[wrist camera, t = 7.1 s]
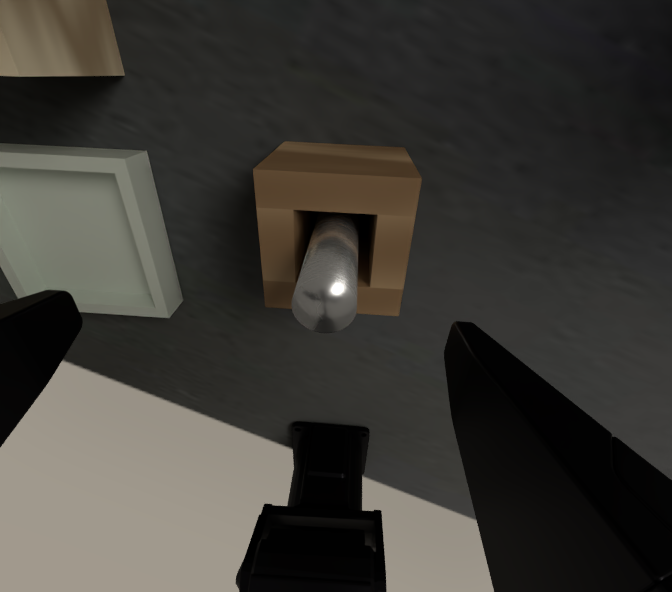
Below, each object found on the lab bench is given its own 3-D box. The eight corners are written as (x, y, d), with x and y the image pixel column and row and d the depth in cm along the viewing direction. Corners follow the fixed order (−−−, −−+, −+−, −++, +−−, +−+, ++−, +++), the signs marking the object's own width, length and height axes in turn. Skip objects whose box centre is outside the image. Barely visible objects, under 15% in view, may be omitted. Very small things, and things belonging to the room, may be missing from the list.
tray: (183, 300, 23) (169, 318, 21) (47, 291, 23) (23, 307, 22) (146, 150, 18) (124, 158, 16) (-27, 141, 18) (-66, 148, 17)
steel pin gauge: (357, 221, 19) (354, 335, 11) (322, 219, 19) (292, 330, 11) (360, 185, 18) (359, 281, 10) (323, 183, 18) (290, 276, 10)
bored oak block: (389, 256, 20) (398, 316, 15) (289, 249, 21) (265, 307, 16) (404, 147, 17) (421, 178, 12) (284, 141, 17) (253, 169, 12)
